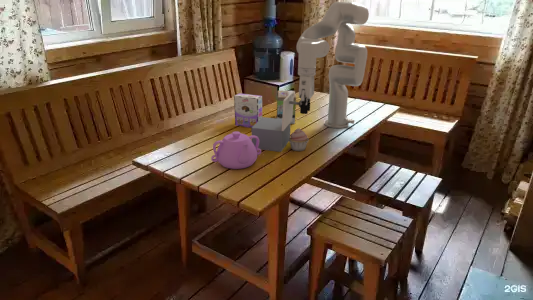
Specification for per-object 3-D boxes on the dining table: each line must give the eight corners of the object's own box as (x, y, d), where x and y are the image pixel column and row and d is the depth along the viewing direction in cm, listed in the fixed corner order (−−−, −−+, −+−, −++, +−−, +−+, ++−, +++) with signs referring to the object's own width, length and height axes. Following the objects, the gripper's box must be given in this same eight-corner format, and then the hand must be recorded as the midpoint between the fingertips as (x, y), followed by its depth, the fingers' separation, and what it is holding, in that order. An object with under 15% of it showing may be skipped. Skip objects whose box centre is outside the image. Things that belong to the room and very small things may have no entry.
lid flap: (290, 120, 197) (309, 122, 195) (281, 130, 183) (301, 133, 181) (292, 91, 191) (311, 93, 189) (283, 100, 178) (303, 102, 175)
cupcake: (305, 154, 185) (306, 132, 181) (285, 151, 188) (286, 130, 184) (310, 146, 193) (311, 126, 189) (291, 143, 196) (292, 123, 192)
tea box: (295, 124, 222) (296, 97, 217) (276, 123, 222) (277, 97, 217) (294, 115, 236) (295, 90, 230) (276, 115, 236) (277, 89, 231)
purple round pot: (221, 180, 161) (220, 147, 155) (206, 159, 179) (204, 129, 174) (273, 171, 169) (273, 139, 163) (253, 151, 187) (253, 122, 182)
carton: (290, 139, 201) (290, 120, 197) (281, 151, 187) (281, 131, 183) (262, 136, 205) (262, 117, 201) (251, 148, 191) (251, 127, 187)
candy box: (262, 125, 219) (262, 95, 213) (257, 129, 215) (257, 98, 208) (239, 122, 225) (239, 92, 218) (234, 125, 220) (233, 95, 214)
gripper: (311, 75, 169) (309, 118, 176) (319, 68, 184) (317, 107, 191) (293, 74, 172) (292, 116, 179) (302, 66, 186) (301, 106, 193)
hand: (305, 111), depth 185 cm, fingers closed on lid flap, 4 cm apart
